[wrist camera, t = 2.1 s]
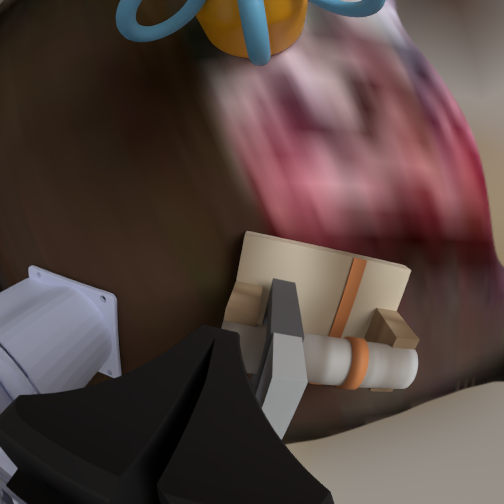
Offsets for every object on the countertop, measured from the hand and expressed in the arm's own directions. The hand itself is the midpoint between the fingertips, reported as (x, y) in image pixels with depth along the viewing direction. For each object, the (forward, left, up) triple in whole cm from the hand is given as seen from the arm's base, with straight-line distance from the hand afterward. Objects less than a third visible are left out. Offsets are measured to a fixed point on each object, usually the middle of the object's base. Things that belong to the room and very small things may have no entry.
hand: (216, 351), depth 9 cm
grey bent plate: (+2, -2, -6) cm, 6 cm away
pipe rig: (+5, -2, -8) cm, 9 cm away
